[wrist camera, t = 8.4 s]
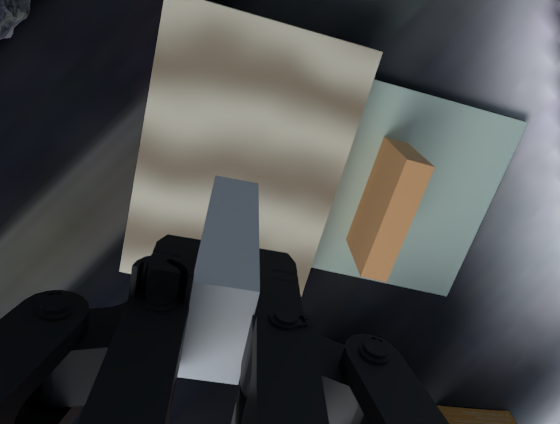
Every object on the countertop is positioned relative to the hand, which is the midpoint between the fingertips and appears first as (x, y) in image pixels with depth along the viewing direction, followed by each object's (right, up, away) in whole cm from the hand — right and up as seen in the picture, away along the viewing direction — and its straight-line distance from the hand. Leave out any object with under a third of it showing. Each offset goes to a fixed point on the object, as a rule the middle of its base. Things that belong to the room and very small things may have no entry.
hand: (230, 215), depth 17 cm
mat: (+12, +1, +23) cm, 26 cm away
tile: (+9, +1, +19) cm, 21 cm away
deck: (-1, +5, +21) cm, 21 cm away
